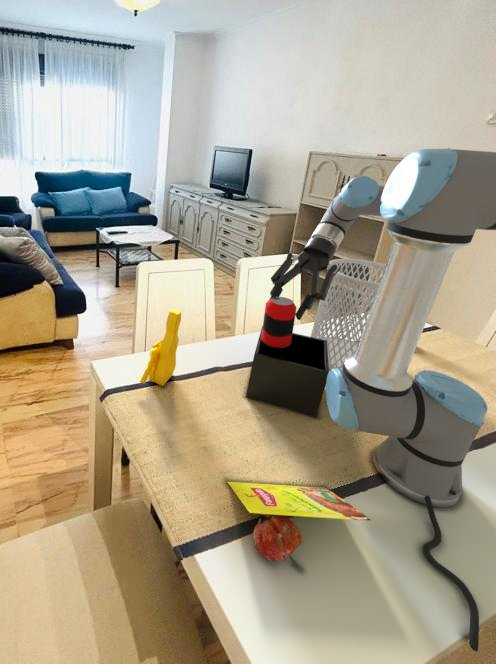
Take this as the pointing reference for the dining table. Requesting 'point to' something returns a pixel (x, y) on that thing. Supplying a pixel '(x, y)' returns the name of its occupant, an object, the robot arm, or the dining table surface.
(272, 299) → the soda can
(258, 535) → the pomegranate
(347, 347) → the wastebasket
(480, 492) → the dining table surface
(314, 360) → the bin
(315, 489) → the food package
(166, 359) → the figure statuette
